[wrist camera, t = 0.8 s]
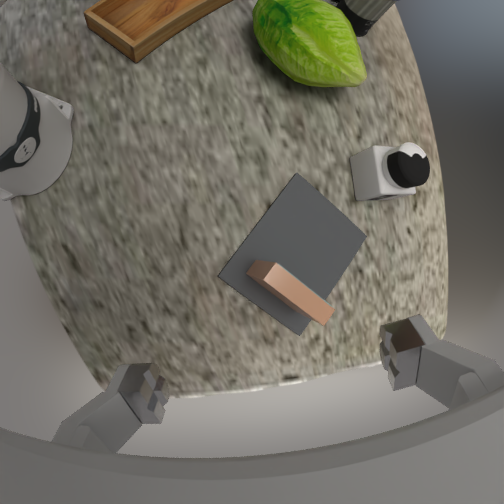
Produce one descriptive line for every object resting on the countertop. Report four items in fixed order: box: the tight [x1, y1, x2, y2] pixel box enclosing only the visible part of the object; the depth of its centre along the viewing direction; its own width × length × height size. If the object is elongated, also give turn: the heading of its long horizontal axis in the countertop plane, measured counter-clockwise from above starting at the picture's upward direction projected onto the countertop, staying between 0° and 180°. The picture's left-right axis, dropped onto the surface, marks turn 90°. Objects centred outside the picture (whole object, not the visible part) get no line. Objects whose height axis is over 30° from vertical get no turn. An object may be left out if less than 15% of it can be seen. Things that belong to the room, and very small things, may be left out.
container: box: [350, 142, 430, 201], centre depth 45 cm, size 8×8×13 cm
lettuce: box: [253, 0, 367, 87], centre depth 41 cm, size 15×23×16 cm
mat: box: [218, 173, 367, 336], centre depth 48 cm, size 16×20×1 cm
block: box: [246, 260, 335, 326], centre depth 42 cm, size 10×3×10 cm, turn 53°
